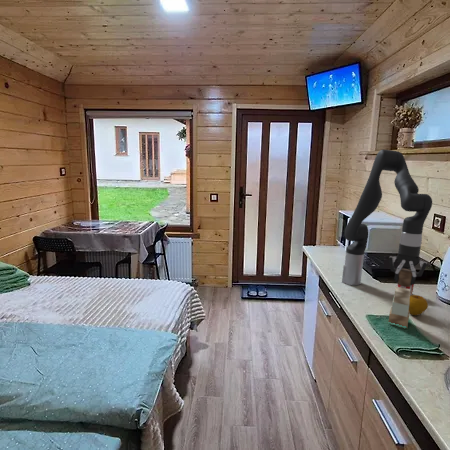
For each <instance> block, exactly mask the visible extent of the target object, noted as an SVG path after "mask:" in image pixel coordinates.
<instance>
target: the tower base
mask: <svg viewBox="0 0 450 450" xmlns="http://www.w3.org/2000/svg"><path fill="white" fill-rule="evenodd" d="M391 310H392V306H391V308H390V311H389V315H388V320H387V321H388V322H391V323H395V324H399V325H402V326H406V327H407V328H408V324H409V318H410V313H409V312H410V311H408V316H407V317H404V316H400V315H396V314H392V313H391ZM388 322H387V323H388Z"/></svg>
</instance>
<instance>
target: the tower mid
mask: <svg viewBox="0 0 450 450" xmlns="http://www.w3.org/2000/svg"><path fill="white" fill-rule="evenodd" d="M393 301H394V297H393V299H392V304H391V307H392V310H391V309H390V310H391V313H392V314H396V315H400V316H404V317H407V316H408V310H409V305H404V304H399V303H395V302H393ZM409 301H410V300H409Z"/></svg>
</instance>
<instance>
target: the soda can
mask: <svg viewBox="0 0 450 450" xmlns="http://www.w3.org/2000/svg"><path fill="white" fill-rule="evenodd" d="M414 286H415V284H413V285H411V286H410V287H404V286H401V285H398V284H397V286H396V287H401V288H406V289H410V296H411V295H413V292H414V291H413V290H414Z"/></svg>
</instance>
